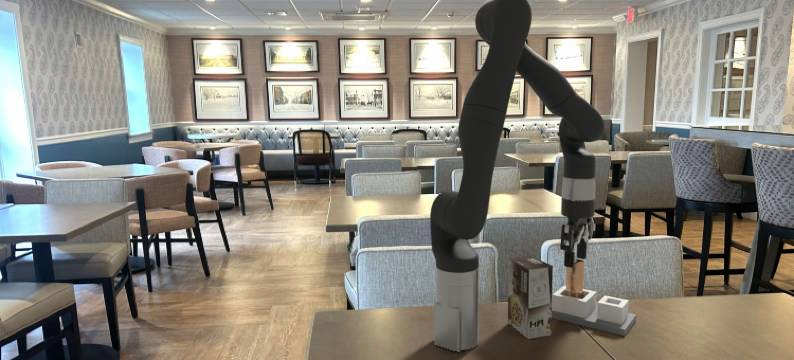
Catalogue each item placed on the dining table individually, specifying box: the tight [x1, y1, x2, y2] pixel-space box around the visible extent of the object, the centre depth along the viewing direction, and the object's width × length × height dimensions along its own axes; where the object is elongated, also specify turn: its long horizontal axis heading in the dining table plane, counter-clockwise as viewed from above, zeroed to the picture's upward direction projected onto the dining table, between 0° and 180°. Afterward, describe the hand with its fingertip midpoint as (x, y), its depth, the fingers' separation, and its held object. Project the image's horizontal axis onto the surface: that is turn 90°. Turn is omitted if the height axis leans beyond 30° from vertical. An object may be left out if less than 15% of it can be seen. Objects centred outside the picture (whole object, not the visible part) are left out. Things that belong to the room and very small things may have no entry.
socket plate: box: [552, 284, 637, 337], centre depth 120 cm, size 10×17×6 cm, turn 52°
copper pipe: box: [565, 258, 585, 299], centre depth 122 cm, size 4×4×12 cm
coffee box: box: [507, 255, 554, 340], centre depth 115 cm, size 9×6×16 cm
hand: (575, 262), depth 121 cm, fingers open, 8 cm apart
